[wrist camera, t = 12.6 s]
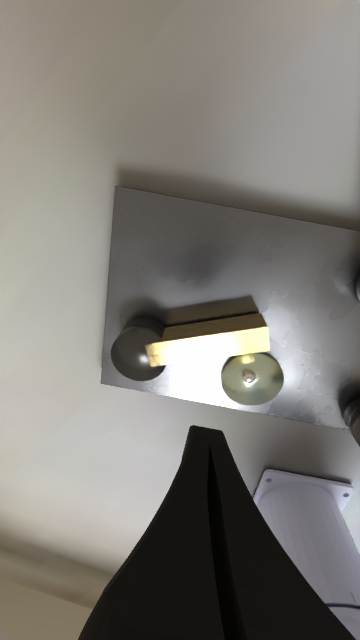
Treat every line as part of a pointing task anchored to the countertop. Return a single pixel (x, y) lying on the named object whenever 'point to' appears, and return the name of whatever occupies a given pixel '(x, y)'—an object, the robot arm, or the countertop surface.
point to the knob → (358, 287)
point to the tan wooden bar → (353, 419)
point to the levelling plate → (240, 302)
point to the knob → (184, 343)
